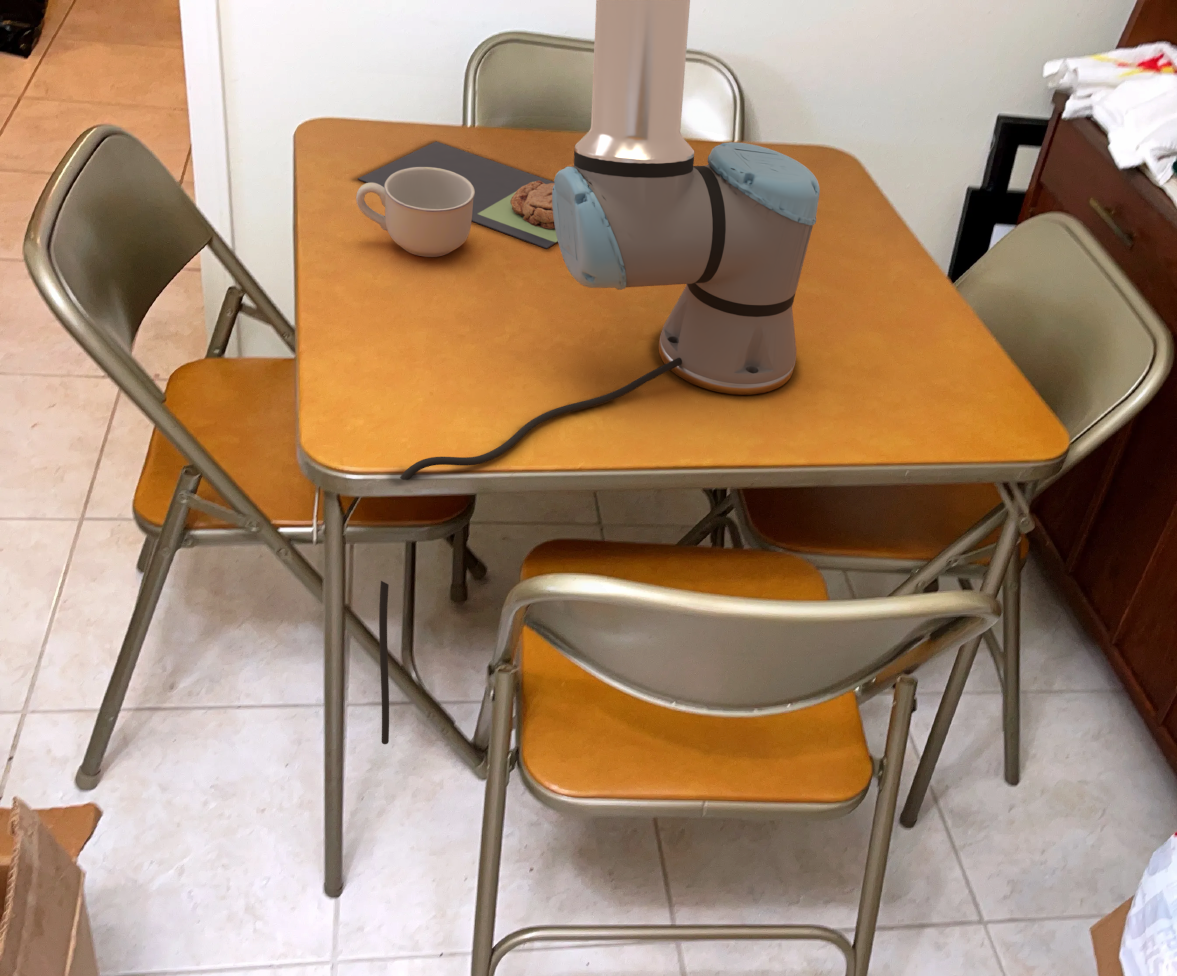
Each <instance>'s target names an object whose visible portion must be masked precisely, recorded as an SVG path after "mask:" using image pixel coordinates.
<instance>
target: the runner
mask: <svg viewBox="0 0 1177 976" xmlns="http://www.w3.org/2000/svg"><path fill="white" fill-rule="evenodd" d="M414 167H432V168H440V169H444V170H448V171H451V172H454V173H456V174H458V175H461V176H463V177H464V178H466V179H467V180H468V181H469V182H470V183H471V184H472V185H473V187H474V191H475V194H474V198H473V210H472V221H471V223H474V224H477V225H480V226H483V227H485V228H488V229H490V230H493V231H496V232H498V233H502V234H503V235H507V236H510V237H512V238H514V239H518V240H521V241H523V242H526V243H529V244H532V245H535V246H537V247H539V248H541V249H545V250H548V249H549V248H551V247H552V246H554V245H556V244H558V240H557V236H556V230H555V228H552V229H548V228H543V227H538V226H534V225H532V224H530V223H528V222H527V221H525V220H523V218H524V216H521V215H520V214H516V213H515V212H514V211H513V210H512V205H511V203H510V200H511V198H512V197H513V195H514V194H515V193H516V192H517V190H518V189H520V188H521V187H522V186H525V185H527V184H529V183H531V182H535V181H541V182H543V183H545V184H550V183H554V180H550V179H547V178H544V177H540V176H538V175H536V174H533V173H530V172H527V171H524V170H521V169H518V168H515V167H512V166H509V165H507V164H504V163H500V162H498V161H494V160H492V159H489V158H486V157H483V156H480V155H478V154H474V153H471V152H469V151H466V150H463V149H459V148H457V147H454V146H451V145H448V144H445V143H443V142H440V141H436V140H435V141H433V142H432V143H429V144H427V145H425V146H423V147H420V148H419V149H417V150H414V151H412V152H410V153H408V154H407V155H404V156H402V157H400V158H398V159H396V160H394V161H391V162H390V163H387V164H385V165H383V166H380V167H378V168H376V169H374V170H372V171H370V172H368V173H366V174H364V175H362V176H360V177H357V181H360V182H363V183H364V184H366V183H377V184H379V185H381V186H382V187H384V186H385V182H386V180H387V179H388V178H389V176H391V175H392V174H393V173H395V172H397V171H400V170H403V169H407V168H414Z"/></svg>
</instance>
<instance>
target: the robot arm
mask: <svg viewBox="0 0 1177 976" xmlns="http://www.w3.org/2000/svg"><path fill="white" fill-rule="evenodd" d="M690 8H691V0H595V19H594V20H595V21H594V22H595V23H594V43H593V44H594V45H593V47H594V48H593V67H592V68H593V69H592V72H593V73H592V94H591V121H590V128H589V130H588V131H587V132H586V134H584V135H583V136H582V137H581V139H579V140H578V141H577V142H576V144H575V145H574V150H573V155H574V156H573V166H570V165H569V166H565V167H564V168H562V169H560V170H558V171H557V172H556V174H555V177H554V180H553V182H554V183H555V185H554V186H553V191H552V206H553V217H554V225H555V230H556V236H557V240H558V242H557V244H558V247H559V251H560V253H561V257H562V260H563V262H564V264H565V266H566V268H567V271H568V272H569V274H570V275H571V277H572V278H573V279H574V280H575V281H576V282H577V283H578V284H579V285H581V286H583V287H586V288H589V289H616V290H619V291H620V290H625V289H626V288H641V287H657V286H659V287H660V286H677V285H685V287H684V289H683V291H682V292H681V294H680V296H679V298H678V300H677V301H676V303H675V305H674V306H673V308H672V310H671V311H670V312H669V315H668V317H667V318H666V320H665V322H664V324H663V326H662V329H661V331H660V335H659V341H658V354H659V357H660V359H661V361H662V362H663V365H661V366H659V367H657V368H655V369H653V370H651V371H649V372H647V373H645V374H643V375H642V376H639V377H638V378H636V379H635V380H633V381H631V382H629V383H628V384H626V385H624V386H622V387H620V388H618V389H615V390H613V391H611V392H608V393H606V394H603V395H600V396H597V397H593V398H589V399H586V400H582V401H578V402H574V403H570V404H569V403H568V404H566V405H563V406H559V407H556V408H554V409H551V410H548V411H546V412H544V413H542V414H540V415H537V416H536V417H534V418H533V419H531V420H530V421H528V422H527V423H525V424H524V425H523V426H522V427H521V428H520V429H518V430H517V431H516V432H515V433H514V434H513V435H512V436H511V437H509V438H508V439H507V440H506V441H505V442H503V443H502V444H501V445H499V446H498V447H496V448H494V449H493V450H490V451H488V452H485V453H483V454H480V455H477V456H468V457H467V456H466V457H462V456H461V457H459V456H431V457H427V458H423V459H421V460H419V461H416V462H415V463H413V464H412V465H410V466H409V467H407V469H406V470H405V471H403V473H402V474H401V475H400V477H399V478H400V479H401V480H403V481H407V480H410V479H411V478H412V477H413V476H414V475H415V474H416V473H418V472H419V471H421V470H423V469H425V468H428V467H432V466H464V467H465V466H476V465H482V464H485V463H488V462H490V461H493V460H495V459H497V458H499V457H501V456H502V455H504V454H505V453H507V452H508V451H509V450H511V449H512V448H513V447H515V445H517V444H518V443H519V442H520V441H521V440H522V439H523V438H524V437H525V436H526V435H527V434H529V433H530V432H531V431H532V430H533V429H535V428H537V427H538V426H539V425H541V424H543V423H545V422H547V421H549V420H551V419H555V418H556V417H559V416H562V415H565V414H568V413H572V412H576V411H580V410H584V409H588V408H592V407H595V406H599V405H602V404H605V403H608V402H611V401H614V400H617V399H618V398H620V397H622V396H625V395H626V394H629V393H630V392H633V391H634V390H636V389H637V388H639V387H641V386H643V385H645V384H646V383H648V382H650V381H651V380H654V379H656V378H657V377H660V376H662V375H663V374H665V373H667V372H669V371H671V372H672V373H674V374H675V375H676V376H677V377H679V378H680V379H682V380H684V381H686V382H688V383H690V384H692V385H694V386H696V387H697V386H698V387H700V388H702V389H706V390H709V391H713V392H717V393H722V394H729V395H742V396H743V395H757V394H765V393H767V392H768V393H769V392H771V391H774V390H777V389H779V388H780V387H782V386H784V385H785V384H787V382H788V381H789V380H790V379H791V377H792V375H793V373H794V368H795V366H796V362H797V361H796V360H797V342H796V332H795V323H794V321H795V320H794V312H793V307H794V306H793V305H794V301H795V297H796V293H797V290H798V286H799V281H800V278H801V274H802V270H803V266H804V263H805V258H806V254H807V251H808V246H809V243H810V240H811V239H810V238H811V235H812V231H813V227H814V226H815V224H816V223H817V213H818V206H819V201H820V193H821V189H820V184H819V181H818V179H817V177H816V176H815V174H814V173H813V172H812V171H811V170H810V169H809V168H808V167H807V166H805V165H804V164H803V163H801V162H799V161H798V160H796V159H794V158H792V157H790V156H788V155H786V154H785V153H782V152H779V151H776V150H774V149H771V148H768V147H764V146H760V145H757V144H751V143H745V142H736V141H735V142H734V141H729V142H722V143H720V144H718V145H715V146H714V147H713V148H712V149H711V151H710V154H708V155H707V163H708V164H706V165H694V164H695V150H694V149H693V148H692V146H691V145H690V144H689V142H687V140H686V138H684V136H683V134H682V132H681V128H682V116H683V115H682V114H683V101H684V88H685V74H686V73H685V72H686V63H687V62H686V60H687V47H688V35H689V34H688V33H689V21H690ZM379 585H380V586H379V603H378V605H379V608H378V609H379V610H378V613H379V614H378V615H379V616H378V618H379V619H378V632H379V633H378V634H379V635H378V636H379V666H380V693H381V694H380V697H381V744H383V745H388V744H389V741H390V681H389V680H390V679H389V655H388V653H389V652H388V651H389V650H388V603H389V588H390V587H389V584H388V583H387V582H385V581H383V580H380V584H379Z"/></svg>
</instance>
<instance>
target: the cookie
mask: <svg viewBox="0 0 1177 976" xmlns="http://www.w3.org/2000/svg"><path fill="white" fill-rule="evenodd" d="M554 185H555V183H550V184H545V183H543V182H541V181H535V182H531V183H529V184H527V185H525V186H522V187H521V188H520V189H518V190H517V192H516V193H515V194H514V195H513V197H512V198H511V200H510V203H511V205H512V210H513V211H514V212H515V213H516V214H520V215H521V216H524V218H523V220H525V221H527V222H528V223H530V224H532V225H534V226H538V227H543V228H548V229H552V228H555V225H554V217H553V206H552V191H553V186H554Z"/></svg>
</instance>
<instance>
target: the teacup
mask: <svg viewBox="0 0 1177 976" xmlns="http://www.w3.org/2000/svg"><path fill="white" fill-rule="evenodd" d="M370 193H374V194H376V195H377V196H378V197H379V199H380V201H381V205H382V206H383V207H384V215H383V214H381V213H379V212H377V211H376V210H374V209H373V208H371V207H370V206H369V205H368V204H367V202H366V201H365V196H366V195H367V194H370ZM474 194H475V191H474V187H473V185H472V184H471V183H470V182H469V181H468V180H467V179H466V178H464V177H463V176H461V175H458V174H456V173H454V172H451V171H448V170H444V169H440V168H432V167H414V168H407V169H403V170H400V171H397V172H395V173H393V174H392V175H391V176H389V178H388V179H387V180H386V182H385V186H384V187H382V186H381V185H379V184H377V183H363V184H362V185H361V186H360V187H359V188H358V189H357V192H356V197H355V198H356V199H355V201H356V205H357V207H358V209H359V211H360V212H361V213H362V214H363V215H364V216H365V217H366V218H368V219H370V220H371V221H373V222H375V223H377V224H378V225H379V226H380V228H381V229H382V230H383V231H387V232H388V235H389V237H391V240H392V241H394V243H395V244H396V245H398V246H400V247H401V249H403V250H404V251H406V252H408V253H409V254H412V255H415V256H418V257H423V258H438V257H442V256H445V255H448V254H450V253H451V252H453V251H455V250H456V249H459V247H461V246H462V245H463V244H464V243H465V242H466V241H467V239H468V237H469V235H470V232H471V228H472V227H471V226H472V210H473V198H474Z"/></svg>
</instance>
